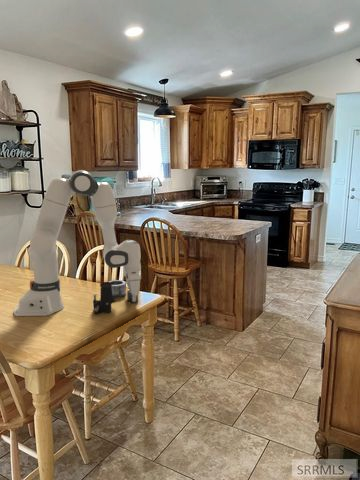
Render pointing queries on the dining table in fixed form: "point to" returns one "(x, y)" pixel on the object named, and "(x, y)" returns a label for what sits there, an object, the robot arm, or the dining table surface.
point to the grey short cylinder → (118, 288)
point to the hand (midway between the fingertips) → (132, 297)
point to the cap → (129, 297)
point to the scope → (104, 299)
